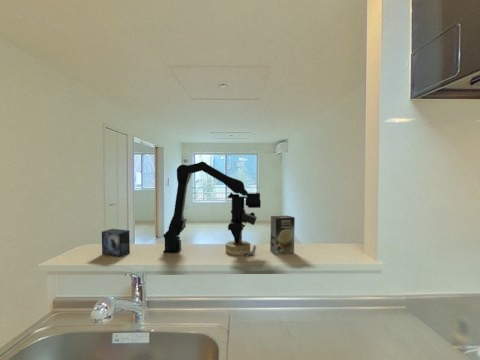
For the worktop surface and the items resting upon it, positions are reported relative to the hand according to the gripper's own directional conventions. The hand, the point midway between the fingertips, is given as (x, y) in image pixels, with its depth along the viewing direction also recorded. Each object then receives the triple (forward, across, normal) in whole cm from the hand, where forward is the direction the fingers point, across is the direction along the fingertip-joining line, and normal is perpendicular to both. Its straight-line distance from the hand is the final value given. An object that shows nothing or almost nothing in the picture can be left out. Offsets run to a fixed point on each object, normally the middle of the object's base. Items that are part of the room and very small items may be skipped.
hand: (237, 241), depth 129 cm
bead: (+4, 0, 0) cm, 4 cm away
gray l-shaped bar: (+4, +1, -5) cm, 7 cm away
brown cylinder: (+3, 0, 0) cm, 3 cm away
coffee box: (+4, +1, -20) cm, 21 cm away
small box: (+5, -11, +53) cm, 54 cm away
